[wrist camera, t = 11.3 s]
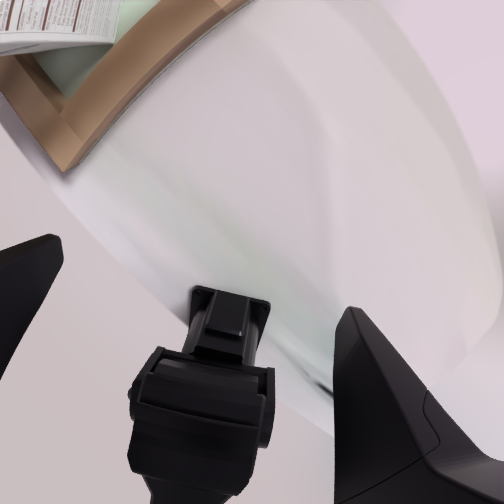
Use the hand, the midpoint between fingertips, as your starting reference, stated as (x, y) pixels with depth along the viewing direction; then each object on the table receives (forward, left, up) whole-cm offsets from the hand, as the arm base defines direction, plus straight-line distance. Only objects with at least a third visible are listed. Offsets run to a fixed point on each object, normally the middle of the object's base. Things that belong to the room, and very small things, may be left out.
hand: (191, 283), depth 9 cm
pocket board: (+10, +14, -13) cm, 22 cm away
